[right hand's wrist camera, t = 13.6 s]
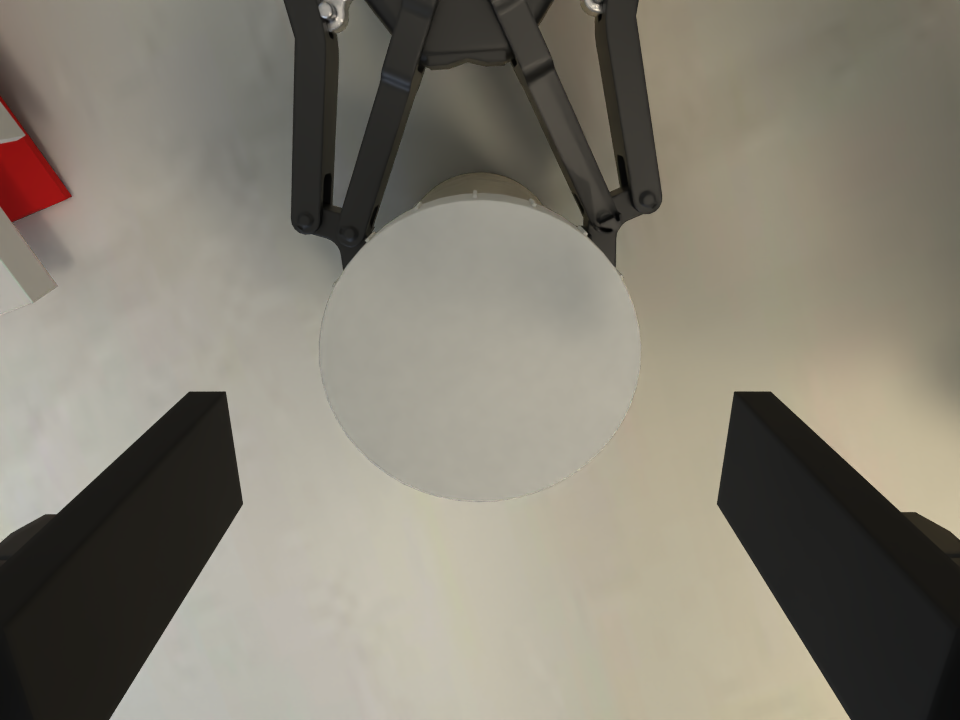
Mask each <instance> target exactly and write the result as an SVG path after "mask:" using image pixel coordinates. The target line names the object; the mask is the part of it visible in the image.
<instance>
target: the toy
mask: <svg viewBox="0 0 960 720" xmlns="http://www.w3.org/2000/svg"><path fill="white" fill-rule="evenodd" d="M70 197H72V196H71V194H70V193H69V192H68V190H67V189H66V187H65V186H64V185H63V183H62V182H61V180H60V179H59V178H58V176H57V175H56V173H55V172H54V171H53V169H52V168H51V166H50V165H49V163H48V162H47V161H46V159H45V158H44V156H43V155H42V154H41V152H40V151H39V149H38V148H37V147H36V145H35V144H34V142H33V141H32V140H31V138H30V137H29V135H28V134H27V133H26V131H25V130H24V128H23V127H22V126H21V124H20V123H19V121H18V120H17V119H16V117H15V116H14V114H13V113H12V112H11V110H10V109H9V107H8V106H7V105H6V103H5V102H4V100H3V99H2V97H1V96H0V315H2V314H5V313H8V312H10V311H13V310H16V309H18V308H21V307H24V306H26V305H29V304H32V303H34V302H35V301H37V300H38V299H40V298H41V297H43V296H44V295H46V294H47V293H49V292H50V291H52V290H53V289H54V288H56V287H57V285H56V283H55V282H54V280H53V279H52V278H51V276H50V275H49V273H48V272H47V271H46V269H45V268H44V267H43V265H42V264H41V262H40V261H39V260H38V258H37V257H36V255H35V254H34V253H33V251H32V250H31V249H30V247H29V246H28V244H27V243H26V242H25V240H24V239H23V237H22V236H21V235H20V233H19V232H18V231H17V229H16V228H15V226H14V225H13V224H12V222H14V221H16V220H18V219H21V218H23V217H25V216H28V215H30V214H33V213H35V212H37V211H40V210H42V209H45V208H47V207H49V206H52V205H54V204H56V203H59V202H61V201H64V200H66V199H68V198H70Z"/></svg>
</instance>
